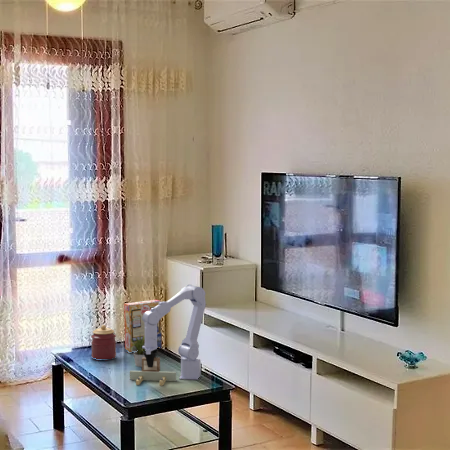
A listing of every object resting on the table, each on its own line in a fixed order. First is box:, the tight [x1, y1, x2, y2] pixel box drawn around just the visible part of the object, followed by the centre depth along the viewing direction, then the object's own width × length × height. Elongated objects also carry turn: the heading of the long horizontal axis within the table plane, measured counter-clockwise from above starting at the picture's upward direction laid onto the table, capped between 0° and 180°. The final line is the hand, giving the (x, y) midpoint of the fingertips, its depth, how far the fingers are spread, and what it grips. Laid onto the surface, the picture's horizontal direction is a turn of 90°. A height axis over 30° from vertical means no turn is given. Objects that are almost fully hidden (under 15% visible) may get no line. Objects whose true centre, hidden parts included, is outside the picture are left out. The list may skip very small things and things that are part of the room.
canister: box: [90, 324, 117, 360], centre depth 382 cm, size 13×13×18 cm
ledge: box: [129, 370, 177, 386], centre depth 337 cm, size 22×10×4 cm, turn 85°
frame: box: [141, 356, 161, 372], centre depth 334 cm, size 8×3×6 cm, turn 86°
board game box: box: [123, 299, 163, 352], centre depth 399 cm, size 20×6×27 cm, turn 126°
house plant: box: [130, 334, 146, 368], centre depth 366 cm, size 14×14×16 cm
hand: (151, 366), depth 334 cm, fingers closed on frame, 3 cm apart
